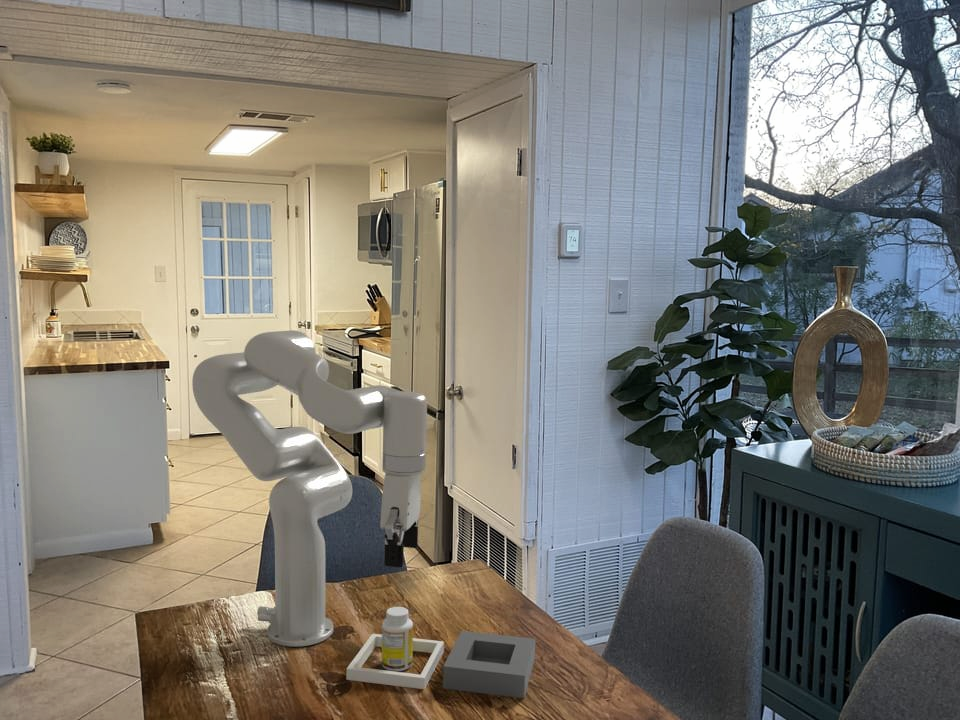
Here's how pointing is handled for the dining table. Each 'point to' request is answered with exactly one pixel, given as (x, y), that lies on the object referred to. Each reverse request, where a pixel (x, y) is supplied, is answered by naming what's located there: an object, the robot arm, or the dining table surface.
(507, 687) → the gray square socket block
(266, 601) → the dining table surface
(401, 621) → the supplement bottle
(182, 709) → the dining table surface
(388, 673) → the tray rim
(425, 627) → the dining table surface
